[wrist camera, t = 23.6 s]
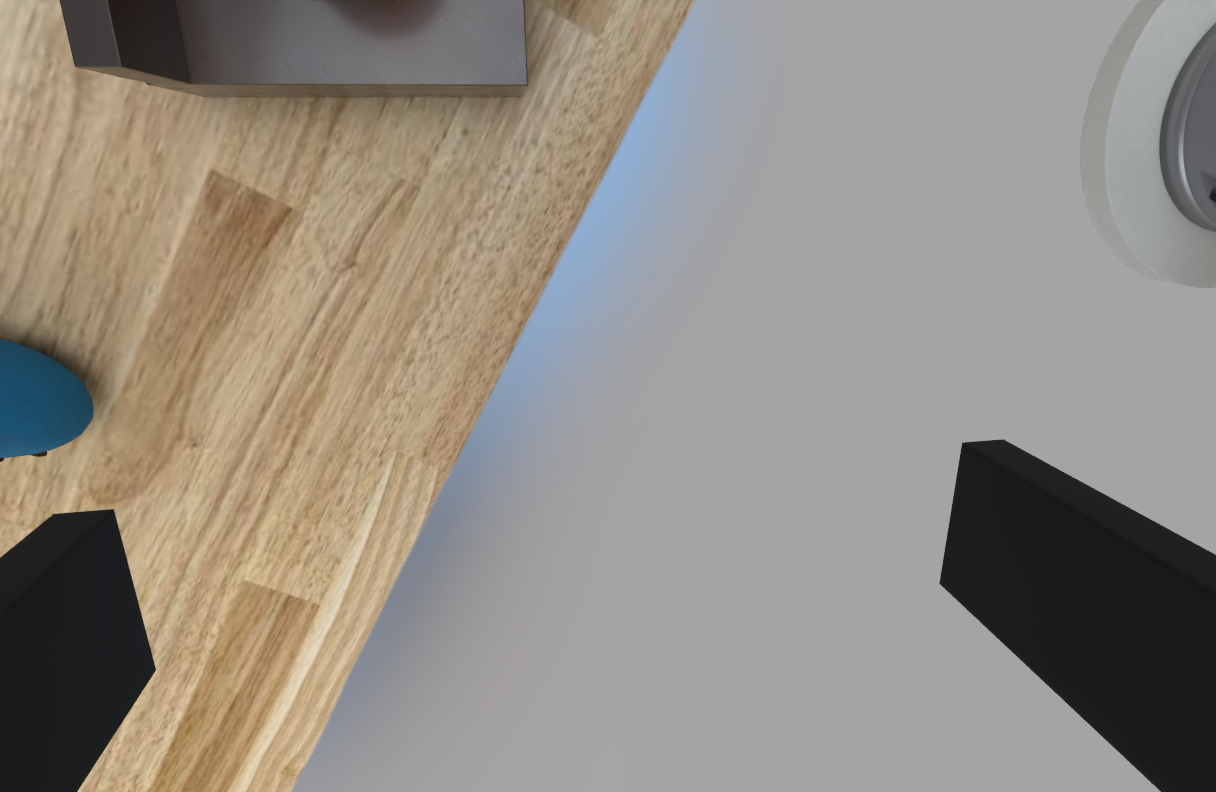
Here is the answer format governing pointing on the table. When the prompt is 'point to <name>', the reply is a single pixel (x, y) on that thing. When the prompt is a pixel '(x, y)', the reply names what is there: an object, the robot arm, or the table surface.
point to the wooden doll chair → (306, 46)
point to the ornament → (38, 403)
